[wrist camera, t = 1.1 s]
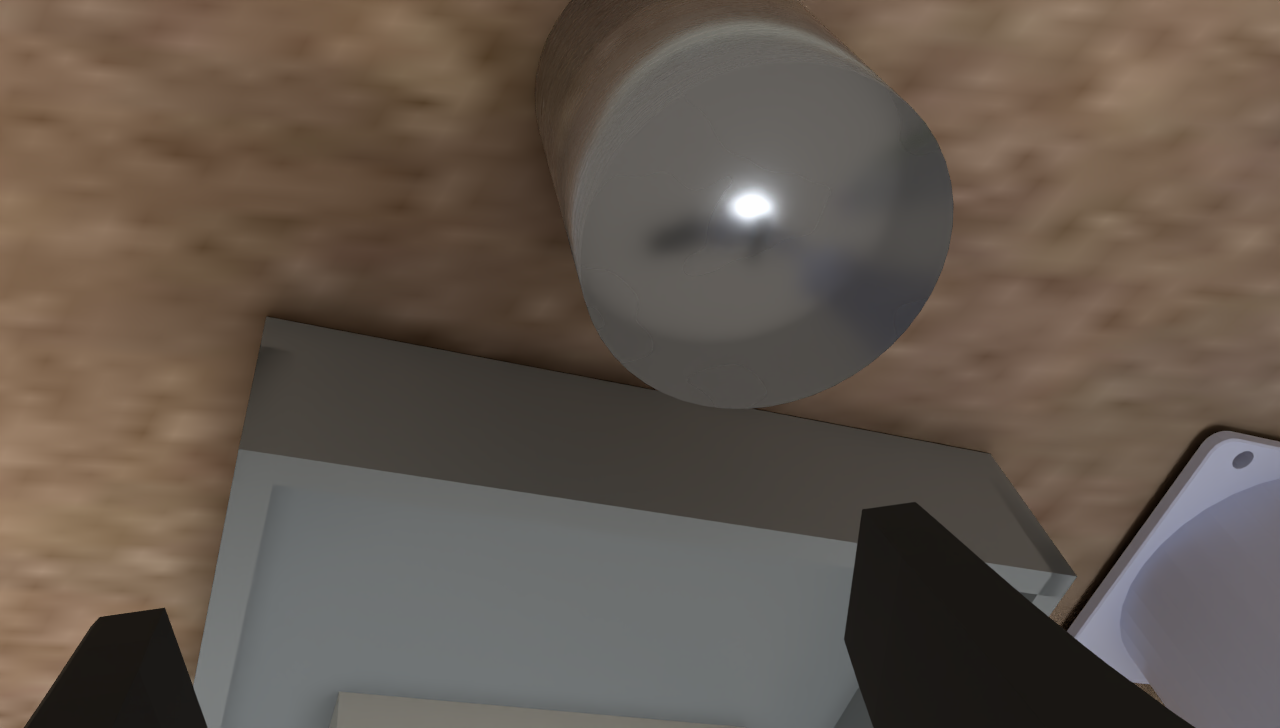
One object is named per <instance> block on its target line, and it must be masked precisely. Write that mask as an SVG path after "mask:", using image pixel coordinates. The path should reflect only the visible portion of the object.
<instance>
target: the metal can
mask: <svg viewBox="0 0 1280 728" xmlns="http://www.w3.org/2000/svg"><path fill="white" fill-rule="evenodd" d="M535 109H536V117H537V122H538V128H539V132H540V136H541V140H542V143H543V147H544V151H545V154H546V158H547V162H548V166H549V169H550V173H551V177H552V181H553V184H554V188H555V192H556V195H557V199H558V203H559V207H560V210H561V214H562V218H563V221H564V225H565V229H566V233H567V236H568V240H569V244H570V247H571V251H572V255H573V259H574V262H575V266H576V270H577V274H578V277H579V281H580V285H581V288H582V292H583V296H584V300H585V303H586V306H587V308H588V311H589V314H590V317H591V320H592V322H593V324H594V326H595V328H596V330H597V332H598V334H599V336H600V337H601V339H602V341H603V342H604V343H605V345H606V346H607V347H608V349H609V350H610V352H611V353H612V354H613V356H614V357H615V358H616V359H617V360H618V361H619V362H620V363H621V364H622V365H623V366H624V367H625V368H626V369H627V370H628V371H630V372H631V373H632V374H634V375H635V376H636V377H638V378H639V379H640V380H642V381H643V382H644V383H646V384H648V385H649V386H651V387H653V388H655V389H657V390H658V391H660V392H662V393H664V394H667V395H669V396H672V397H674V398H677V399H680V400H682V401H686V402H690V403H694V404H698V405H702V406H708V407H716V408H724V409H751V408H761V407H770V406H775V405H780V404H784V403H789V402H793V401H796V400H799V399H802V398H805V397H809V396H812V395H814V394H817V393H819V392H821V391H824V390H826V389H828V388H830V387H833V386H835V385H837V384H838V383H840V382H842V381H844V380H845V379H847V378H849V377H851V376H853V375H854V374H856V373H857V372H859V371H860V370H862V369H863V368H864V367H866V366H867V365H869V364H870V363H871V362H873V361H874V360H875V359H876V358H878V357H879V356H880V355H881V354H882V353H883V352H885V351H886V350H887V349H888V348H889V347H890V346H891V345H892V344H893V343H894V342H895V341H896V340H897V339H898V338H899V337H900V336H901V335H902V334H903V333H904V332H905V330H906V329H907V328H908V327H909V326H910V324H911V323H912V322H913V320H914V319H915V318H916V316H917V315H918V314H919V312H920V311H921V309H922V308H923V306H924V304H925V303H926V301H927V299H928V298H929V296H930V294H931V293H932V291H933V289H934V287H935V284H936V282H937V280H938V278H939V276H940V273H941V271H942V268H943V265H944V262H945V259H946V256H947V252H948V249H949V244H950V238H951V232H952V227H953V196H952V186H951V180H950V176H949V173H948V169H947V165H946V161H945V159H944V157H943V154H942V152H941V150H940V147H939V145H938V143H937V141H936V139H935V138H934V136H933V134H932V133H931V131H930V130H929V128H928V127H927V125H926V123H925V122H924V121H923V120H922V119H921V118H920V117H919V115H918V114H917V113H916V112H915V111H914V110H913V109H912V108H911V106H910V105H909V104H907V103H906V102H905V101H904V100H903V99H902V98H901V97H900V96H899V95H898V94H897V93H896V92H895V91H893V90H892V89H891V88H890V87H889V86H888V85H887V84H886V83H885V82H884V81H883V80H882V79H881V78H879V77H878V76H877V75H876V74H875V73H874V72H873V71H872V70H871V69H870V68H869V67H868V66H867V65H865V64H864V63H863V62H862V61H861V60H860V59H859V58H858V57H857V56H856V55H855V54H854V53H853V52H851V51H850V50H849V49H848V48H847V47H846V46H845V45H844V44H843V43H842V42H841V41H840V40H839V39H837V38H836V37H835V36H834V35H833V34H832V33H831V32H830V31H829V30H828V29H827V28H826V27H824V26H823V25H822V24H821V23H820V22H819V21H818V20H817V19H816V18H815V17H814V16H813V15H812V14H810V13H809V12H808V11H807V10H806V9H805V8H804V7H803V6H802V5H801V4H800V3H799V2H798V1H796V0H572V1H571V2H570V3H569V4H568V5H567V7H566V8H565V9H564V11H563V12H562V14H561V15H560V17H559V18H558V19H557V21H556V23H555V25H554V27H553V29H552V30H551V32H550V34H549V36H548V38H547V41H546V43H545V46H544V49H543V52H542V54H541V57H540V62H539V66H538V71H537V75H536V86H535Z"/></svg>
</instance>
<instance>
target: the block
mask: <svg viewBox="0 0 1280 728" xmlns="http://www.w3.org/2000/svg"><path fill="white" fill-rule="evenodd" d="M329 728H746V727H735V726H724V725H713V724H701V723H690V722H679V721H667V720H656V719H644V718H633V717H622V716H610V715H599V714H588V713H576V712H565V711H554V710H542V709H531V708H519V707H508V706H497V705H485V704H474V703H463V702H451V701H440V700H429V699H417V698H406V697H395V696H383V695H372V694H360V693H349V692H339V694H338V698H337V701H336V705H335V708H334V712H333V715H332V719H331V722H330V726H329Z"/></svg>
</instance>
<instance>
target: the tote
mask: <svg viewBox="0 0 1280 728" xmlns="http://www.w3.org/2000/svg"><path fill="white" fill-rule="evenodd" d="M910 502H916V503H917V504H919V505H920V506H921V507H922V508H923V509H924V510H926V511H927V512H928V513H929V514H930V515H931V516H932V517H934V518H935V519H936V520H937V521H938V522H939V523H940V524H942V525H943V526H944V527H945V528H946V529H947V530H948V531H950V532H951V533H952V534H953V535H954V536H955V537H957V538H958V539H959V540H960V541H961V542H962V543H963V544H964V545H966V546H967V547H968V548H969V549H970V550H971V551H972V552H974V553H975V554H976V555H977V556H978V557H979V558H980V559H982V560H983V561H984V562H985V563H986V564H987V565H988V566H990V567H991V568H992V569H993V570H994V571H995V572H997V573H998V574H999V575H1000V576H1001V577H1002V578H1003V579H1005V580H1006V581H1007V582H1008V583H1009V584H1010V585H1012V586H1013V587H1014V588H1015V589H1016V590H1017V591H1019V592H1020V593H1021V594H1022V595H1023V596H1024V597H1026V598H1027V599H1028V600H1029V601H1030V602H1031V603H1033V604H1034V605H1035V606H1036V607H1037V608H1039V609H1040V610H1041V611H1042V612H1044V613H1045V614H1046V615H1047V616H1048V617H1049V616H1050V614H1051V613H1052V611H1053V610H1054V609H1055V607H1056V606H1057V604H1058V603H1059V601H1060V600H1061V599H1062V597H1063V596H1064V594H1065V593H1066V591H1067V590H1068V589H1069V587H1070V586H1071V584H1072V583H1073V581H1074V580H1075V579H1076V577H1077V576H1076V574H1075V573H1074V572H1073V570H1072V569H1071V567H1070V566H1069V564H1068V563H1067V562H1066V560H1065V559H1064V557H1063V556H1062V555H1061V553H1060V552H1059V550H1058V549H1057V547H1056V546H1055V545H1054V543H1053V542H1052V540H1051V539H1050V538H1049V536H1048V535H1047V533H1046V532H1045V531H1044V529H1043V528H1042V526H1041V525H1040V523H1039V522H1038V521H1037V519H1036V518H1035V516H1034V515H1033V514H1032V512H1031V511H1030V509H1029V508H1028V506H1027V505H1026V504H1025V502H1024V501H1023V499H1022V498H1021V497H1020V495H1019V494H1018V492H1017V491H1016V489H1015V488H1014V487H1013V485H1012V484H1011V482H1010V481H1009V480H1008V478H1007V477H1006V475H1005V474H1004V473H1003V471H1002V470H1001V468H1000V467H999V465H998V464H997V463H996V461H995V460H994V458H993V457H992V456H991V454H988V453H983V452H977V451H972V450H967V449H962V448H956V447H951V446H946V445H940V444H935V443H930V442H925V441H919V440H914V439H909V438H904V437H898V436H893V435H888V434H882V433H877V432H872V431H867V430H861V429H856V428H851V427H846V426H840V425H835V424H830V423H824V422H819V421H814V420H809V419H803V418H798V417H793V416H788V415H782V414H777V413H772V412H767V411H761V410H756V409H724V408H716V407H708V406H702V405H698V404H694V403H690V402H686V401H682V400H680V399H677V398H674V397H672V396H669V395H667V394H664V393H662V392H660V391H656V390H651V389H645V388H640V387H635V386H629V385H624V384H619V383H614V382H608V381H603V380H598V379H593V378H587V377H582V376H577V375H572V374H566V373H561V372H556V371H550V370H545V369H540V368H535V367H529V366H524V365H519V364H514V363H508V362H503V361H498V360H492V359H487V358H482V357H477V356H471V355H466V354H461V353H456V352H450V351H445V350H440V349H434V348H429V347H424V346H419V345H413V344H408V343H403V342H398V341H392V340H387V339H382V338H377V337H371V336H366V335H361V334H355V333H350V332H345V331H340V330H334V329H329V328H324V327H319V326H313V325H308V324H303V323H297V322H292V321H287V320H282V319H276V318H271V317H266V321H265V326H264V330H263V335H262V340H261V345H260V350H259V354H258V359H257V364H256V369H255V374H254V378H253V383H252V388H251V393H250V398H249V402H248V407H247V412H246V417H245V422H244V426H243V431H242V436H241V441H240V446H239V450H238V456H237V461H236V466H235V471H234V477H233V482H232V487H231V492H230V497H229V503H228V508H227V513H226V518H225V523H224V529H223V534H222V539H221V544H220V550H219V555H218V560H217V565H216V570H215V576H214V581H213V586H212V591H211V597H210V602H209V607H208V612H207V617H206V623H205V628H204V633H203V638H202V643H201V649H200V654H199V659H198V664H197V670H196V675H195V680H194V685H193V688H194V691H195V693H196V696H197V699H198V702H199V705H200V707H201V710H202V713H203V716H204V719H205V721H206V724H207V727H208V728H329V726H330V722H331V719H332V715H333V712H334V708H335V705H336V701H337V698H338V694H339V692H349V693H360V694H372V695H383V696H395V697H406V698H417V699H429V700H440V701H451V702H463V703H474V704H485V705H497V706H508V707H519V708H531V709H542V710H554V711H565V712H576V713H588V714H599V715H610V716H622V717H633V718H644V719H656V720H667V721H679V722H690V723H701V724H713V725H724V726H735V727H746V728H874V727H873V725H872V722H871V719H870V717H869V714H868V711H867V708H866V705H865V702H864V699H863V697H862V694H861V691H860V688H859V685H858V682H857V679H856V676H855V672H854V669H853V666H852V663H851V660H850V657H849V654H848V651H847V648H846V645H845V641H844V635H845V628H846V621H847V614H848V607H849V600H850V592H851V585H852V578H853V571H854V564H855V557H856V550H857V542H858V535H859V528H860V521H861V514H862V509H868V508H875V507H882V506H889V505H896V504H903V503H910Z"/></svg>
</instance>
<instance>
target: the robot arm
mask: <svg viewBox="0 0 1280 728" xmlns="http://www.w3.org/2000/svg"><path fill="white" fill-rule="evenodd" d="M844 641H845V645H846V648H847V651H848V654H849V657H850V660H851V663H852V666H853V669H854V672H855V676H856V679H857V682H858V685H859V688H860V691H861V694H862V697H863V699H864V702H865V705H866V708H867V711H868V714H869V717H870V719H871V722H872V725H873V727H874V728H1280V442H1279V441H1274V440H1270V439H1265V438H1260V437H1256V436H1251V435H1246V434H1242V433H1237V432H1233V431H1220V432H1217V433H1214V434H1212V435H1211V436H1209V437H1208V438H1207V439H1206V440H1205V441H1204V442H1203V443H1202V444H1201V445H1200V447H1199V448H1198V450H1197V451H1196V452H1195V454H1194V455H1193V456H1192V458H1191V459H1190V461H1189V462H1188V463H1187V465H1186V466H1185V468H1184V469H1183V470H1182V472H1181V473H1180V475H1179V476H1178V477H1177V479H1176V480H1175V481H1174V483H1173V484H1172V486H1171V487H1170V488H1169V490H1168V491H1167V493H1166V494H1165V495H1164V497H1163V498H1162V500H1161V501H1160V502H1159V504H1158V505H1157V506H1156V508H1155V509H1154V511H1153V512H1152V513H1151V515H1150V516H1149V518H1148V519H1147V520H1146V522H1145V523H1144V525H1143V526H1142V527H1141V529H1140V530H1139V531H1138V533H1137V534H1136V536H1135V537H1134V538H1133V540H1132V541H1131V543H1130V544H1129V545H1128V547H1127V548H1126V550H1125V551H1124V552H1123V554H1122V555H1121V556H1120V558H1119V559H1118V561H1117V562H1116V563H1115V565H1114V566H1113V568H1112V569H1111V570H1110V572H1109V573H1108V575H1107V576H1106V577H1105V579H1104V580H1103V581H1102V583H1101V584H1100V586H1099V587H1098V588H1097V590H1096V591H1095V593H1094V594H1093V595H1092V597H1091V598H1090V600H1089V601H1088V602H1087V604H1086V605H1085V607H1084V608H1083V609H1082V611H1081V612H1080V613H1079V615H1078V616H1077V618H1076V619H1075V620H1074V622H1073V623H1072V625H1071V626H1070V627H1069V629H1068V630H1067V631H1066V630H1064V629H1063V628H1062V627H1061V626H1059V625H1058V624H1057V623H1056V622H1055V621H1053V620H1052V619H1051V618H1050V617H1048V616H1047V615H1046V614H1045V613H1044V612H1042V611H1041V610H1040V609H1039V608H1037V607H1036V606H1035V605H1034V604H1033V603H1031V602H1030V601H1029V600H1028V599H1027V598H1026V597H1024V596H1023V595H1022V594H1021V593H1020V592H1019V591H1017V590H1016V589H1015V588H1014V587H1013V586H1012V585H1010V584H1009V583H1008V582H1007V581H1006V580H1005V579H1003V578H1002V577H1001V576H1000V575H999V574H998V573H997V572H995V571H994V570H993V569H992V568H991V567H990V566H988V565H987V564H986V563H985V562H984V561H983V560H982V559H980V558H979V557H978V556H977V555H976V554H975V553H974V552H972V551H971V550H970V549H969V548H968V547H967V546H966V545H964V544H963V543H962V542H961V541H960V540H959V539H958V538H957V537H955V536H954V535H953V534H952V533H951V532H950V531H948V530H947V529H946V528H945V527H944V526H943V525H942V524H940V523H939V522H938V521H937V520H936V519H935V518H934V517H932V516H931V515H930V514H929V513H928V512H927V511H926V510H924V509H923V508H922V507H921V506H920V505H919V504H917V503H916V502H910V503H903V504H896V505H889V506H882V507H875V508H868V509H862V514H861V521H860V528H859V535H858V542H857V550H856V557H855V564H854V571H853V578H852V585H851V592H850V600H849V607H848V614H847V621H846V628H845V635H844ZM1132 682H1133V683H1132ZM1134 683H1142V684H1150V685H1151V687H1152V688H1153V689H1154V691H1155V692H1156V694H1157V695H1158V696H1159V698H1160V699H1161V701H1162V702H1163V704H1164V705H1165V706H1166V707H1165V706H1164V705H1162V704H1161V703H1160V702H1158V701H1157V700H1155V699H1154V698H1153V697H1151V696H1150V695H1149V694H1147V693H1146V692H1145V691H1143V690H1142V689H1141V688H1139V687H1138V686H1137V685H1135V684H1134ZM24 728H208V727H207V724H206V721H205V719H204V716H203V713H202V710H201V707H200V705H199V702H198V699H197V696H196V693H195V691H194V688H193V685H192V682H191V679H190V677H189V674H188V671H187V668H186V666H185V663H184V660H183V657H182V654H181V652H180V649H179V646H178V643H177V640H176V638H175V635H174V632H173V629H172V626H171V624H170V621H169V618H168V615H167V612H166V610H165V608H160V609H153V610H146V611H139V612H132V613H125V614H118V615H111V616H104V617H99V618H98V620H97V621H96V622H95V623H94V624H93V625H92V626H91V627H90V629H89V630H88V632H87V633H86V635H85V636H84V638H83V640H82V641H81V643H80V644H79V646H78V647H77V649H76V650H75V652H74V653H73V655H72V656H71V658H70V659H69V661H68V662H67V664H66V665H65V667H64V668H63V670H62V672H61V673H60V675H59V676H58V678H57V679H56V681H55V682H54V684H53V685H52V687H51V688H50V690H49V691H48V693H47V694H46V696H45V697H44V699H43V700H42V702H41V703H40V705H39V706H38V708H37V709H36V711H35V712H34V714H33V715H32V716H31V718H30V719H29V721H28V722H27V724H26V725H25V727H24Z"/></svg>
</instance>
